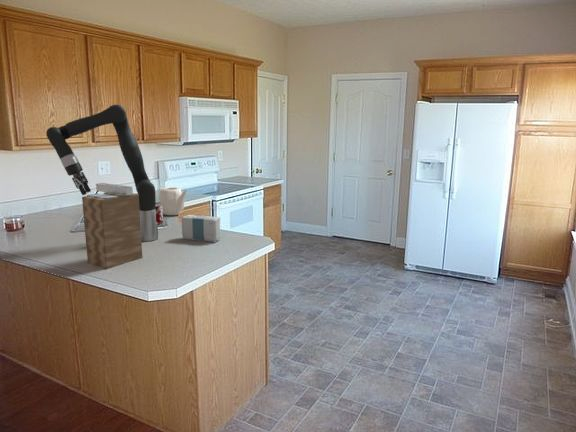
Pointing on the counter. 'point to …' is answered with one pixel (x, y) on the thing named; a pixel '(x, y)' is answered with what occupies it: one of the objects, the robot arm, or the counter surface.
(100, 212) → the stand
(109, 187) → the bar
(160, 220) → the soda can
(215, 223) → the white banded box
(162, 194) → the cream teapot
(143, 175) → the robot arm
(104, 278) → the counter surface
